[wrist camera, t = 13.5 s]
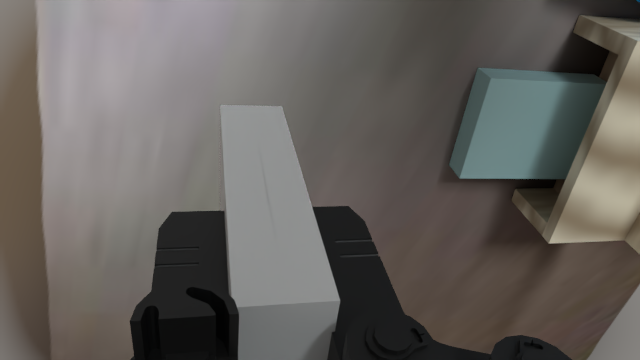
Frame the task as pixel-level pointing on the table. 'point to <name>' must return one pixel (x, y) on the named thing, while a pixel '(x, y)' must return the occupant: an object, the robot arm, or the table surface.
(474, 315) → the table surface
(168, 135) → the table surface
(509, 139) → the teal square tile
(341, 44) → the table surface
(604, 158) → the shelf
